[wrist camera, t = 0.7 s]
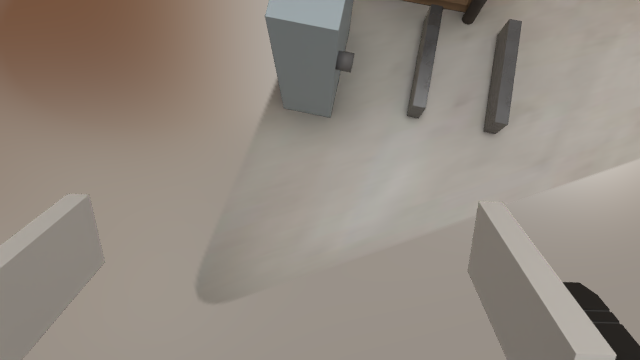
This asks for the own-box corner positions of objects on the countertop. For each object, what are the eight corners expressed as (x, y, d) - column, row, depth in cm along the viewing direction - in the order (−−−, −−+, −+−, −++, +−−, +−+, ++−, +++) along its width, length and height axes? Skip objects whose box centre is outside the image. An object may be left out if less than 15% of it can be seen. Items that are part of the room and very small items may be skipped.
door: (342, 120, 37) (356, 34, 24) (283, 108, 37) (265, 16, 24) (360, 34, 39) (383, -93, 25) (304, 23, 39) (297, -110, 25)
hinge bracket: (495, 133, 37) (507, 124, 35) (406, 116, 37) (412, 105, 35) (508, 36, 39) (521, 21, 36) (424, 20, 39) (431, 3, 37)
